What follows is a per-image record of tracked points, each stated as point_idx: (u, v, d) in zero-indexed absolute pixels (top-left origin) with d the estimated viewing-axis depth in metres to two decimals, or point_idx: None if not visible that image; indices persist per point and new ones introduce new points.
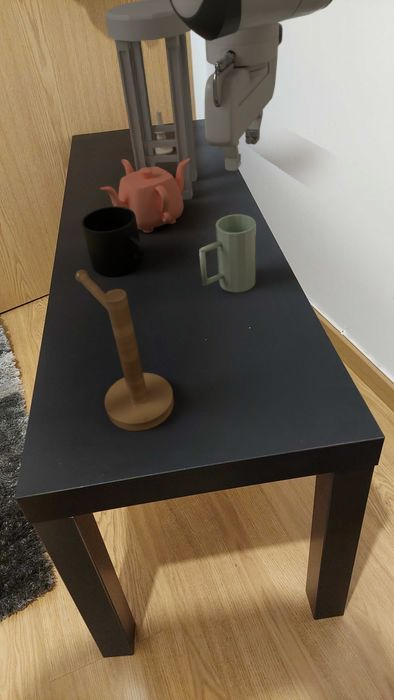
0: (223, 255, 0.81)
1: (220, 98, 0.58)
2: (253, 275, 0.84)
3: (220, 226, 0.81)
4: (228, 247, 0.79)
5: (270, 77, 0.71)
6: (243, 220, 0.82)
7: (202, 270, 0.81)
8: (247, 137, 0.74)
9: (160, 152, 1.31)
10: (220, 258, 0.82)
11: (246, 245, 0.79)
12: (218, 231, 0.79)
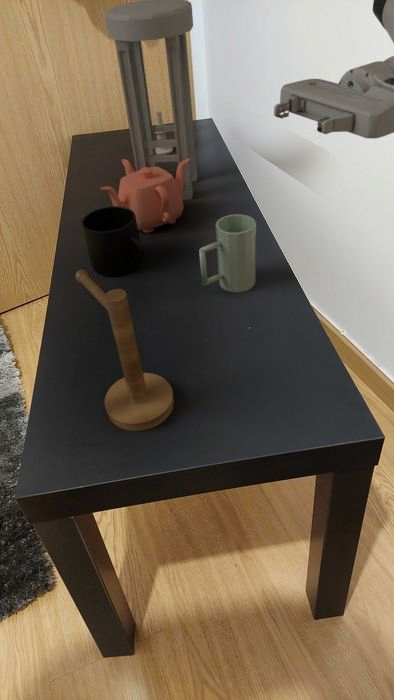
0: (223, 255, 0.81)
1: None
2: (253, 275, 0.84)
3: (220, 226, 0.81)
4: (228, 247, 0.79)
5: (377, 104, 0.72)
6: (243, 220, 0.82)
7: (202, 270, 0.81)
8: None
9: (160, 152, 1.31)
10: (220, 258, 0.82)
11: (246, 245, 0.79)
12: (218, 231, 0.79)
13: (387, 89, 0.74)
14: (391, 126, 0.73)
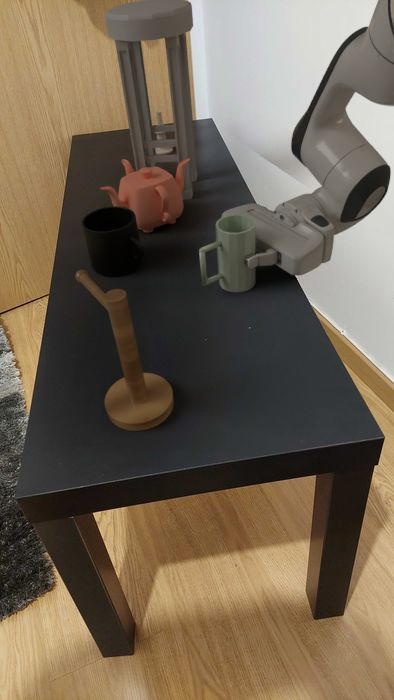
0: (223, 255, 0.81)
1: None
2: (253, 275, 0.84)
3: (220, 226, 0.81)
4: (228, 247, 0.79)
5: (302, 245, 0.79)
6: (243, 220, 0.82)
7: (202, 270, 0.81)
8: None
9: (160, 152, 1.31)
10: (220, 258, 0.82)
11: (245, 245, 0.79)
12: (218, 231, 0.79)
13: (312, 228, 0.81)
14: (315, 263, 0.80)
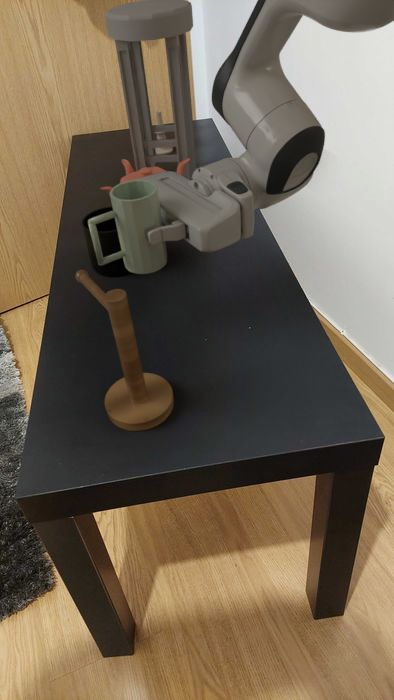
0: (120, 228, 0.68)
1: None
2: (161, 253, 0.71)
3: (117, 194, 0.68)
4: (124, 217, 0.66)
5: (213, 215, 0.66)
6: (146, 187, 0.68)
7: (95, 246, 0.67)
8: None
9: (160, 152, 1.31)
10: (119, 232, 0.69)
11: (145, 216, 0.66)
12: (111, 198, 0.66)
13: (228, 196, 0.68)
14: (230, 237, 0.67)
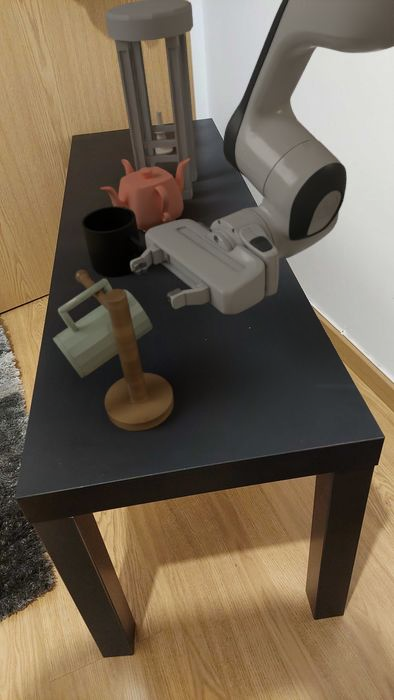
0: (104, 314, 0.63)
1: None
2: (95, 366, 0.63)
3: None
4: None
5: (236, 275, 0.62)
6: None
7: (80, 296, 0.60)
8: None
9: (160, 152, 1.31)
10: (95, 315, 0.63)
11: None
12: (126, 293, 0.64)
13: (251, 253, 0.64)
14: (254, 298, 0.63)
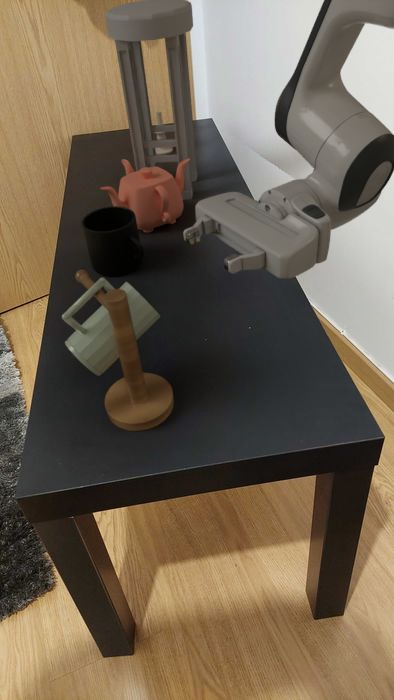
0: None
1: None
2: (110, 363, 0.64)
3: None
4: None
5: (291, 241, 0.64)
6: None
7: (81, 300, 0.60)
8: None
9: (160, 152, 1.31)
10: (100, 313, 0.63)
11: (140, 322, 0.63)
12: (127, 286, 0.64)
13: (304, 220, 0.66)
14: (308, 263, 0.65)
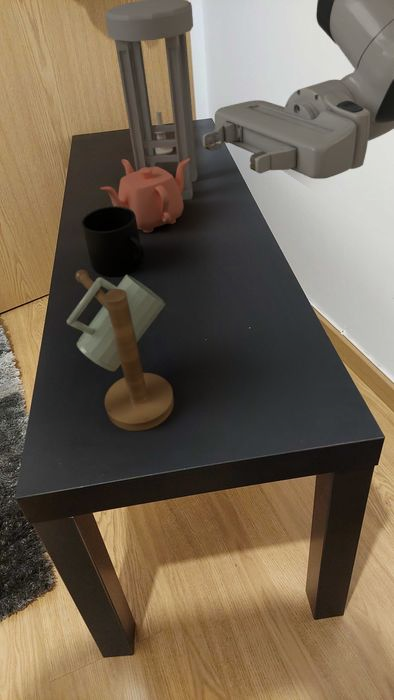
0: None
1: None
2: None
3: None
4: None
5: (326, 135, 0.57)
6: None
7: (82, 303, 0.60)
8: None
9: (160, 152, 1.31)
10: (105, 311, 0.63)
11: (145, 314, 0.63)
12: (127, 279, 0.63)
13: (340, 116, 0.58)
14: (344, 162, 0.58)
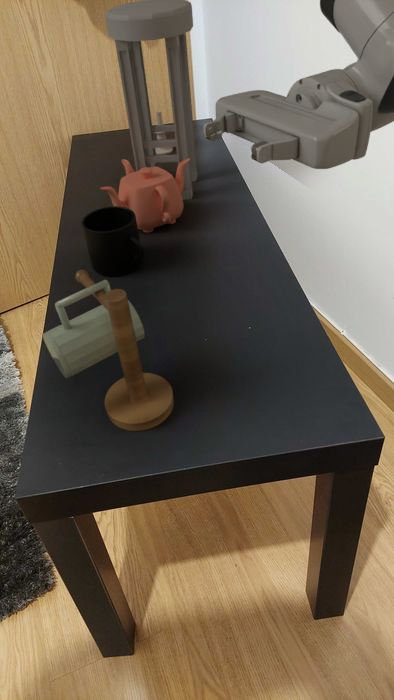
0: (99, 316, 0.62)
1: None
2: (83, 367, 0.62)
3: None
4: None
5: (328, 125, 0.56)
6: None
7: (79, 293, 0.59)
8: None
9: (160, 152, 1.31)
10: (90, 315, 0.62)
11: None
12: None
13: (342, 105, 0.58)
14: (347, 153, 0.57)
